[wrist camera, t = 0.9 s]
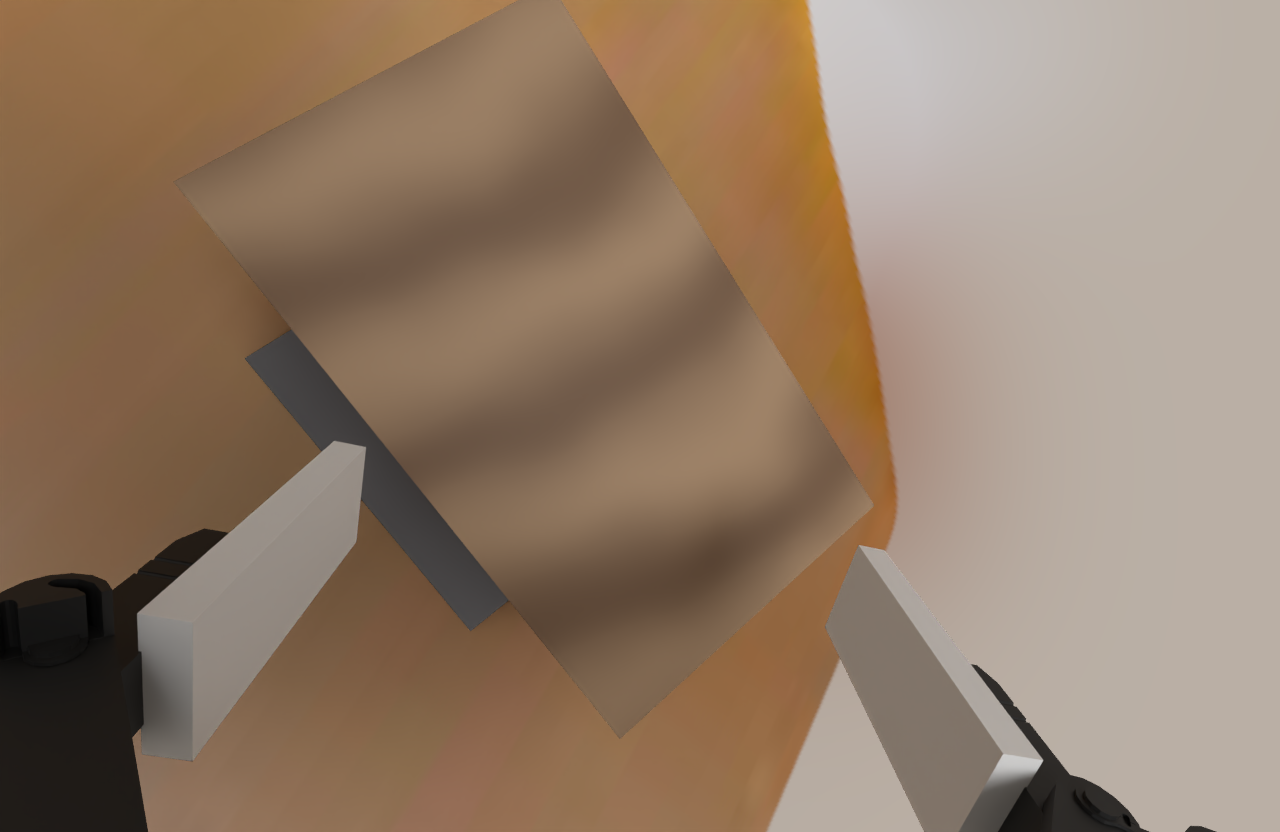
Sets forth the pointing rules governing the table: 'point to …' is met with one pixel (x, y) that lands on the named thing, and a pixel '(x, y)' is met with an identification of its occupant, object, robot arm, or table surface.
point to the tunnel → (543, 346)
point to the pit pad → (379, 478)
